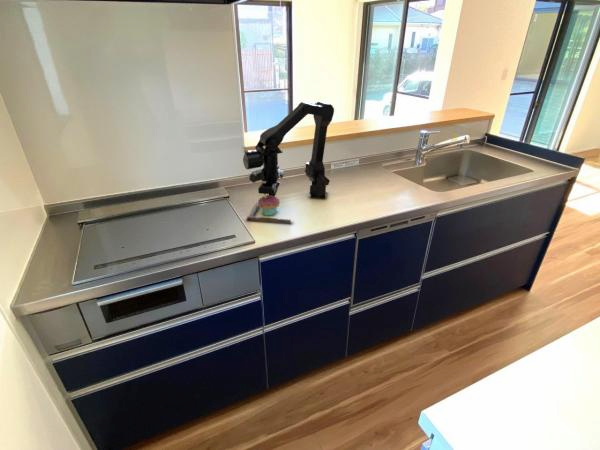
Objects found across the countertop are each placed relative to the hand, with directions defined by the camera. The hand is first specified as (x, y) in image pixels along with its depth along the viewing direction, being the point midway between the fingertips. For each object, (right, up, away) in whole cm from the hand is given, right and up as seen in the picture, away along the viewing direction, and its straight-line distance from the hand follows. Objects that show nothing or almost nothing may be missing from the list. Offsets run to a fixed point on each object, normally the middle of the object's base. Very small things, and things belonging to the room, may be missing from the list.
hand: (272, 200), depth 143 cm
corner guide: (0, -6, -5) cm, 8 cm away
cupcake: (-1, -5, -4) cm, 7 cm away
